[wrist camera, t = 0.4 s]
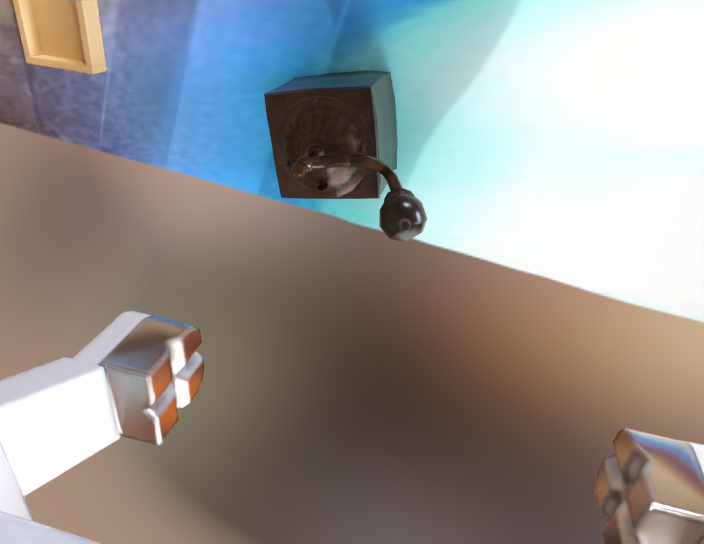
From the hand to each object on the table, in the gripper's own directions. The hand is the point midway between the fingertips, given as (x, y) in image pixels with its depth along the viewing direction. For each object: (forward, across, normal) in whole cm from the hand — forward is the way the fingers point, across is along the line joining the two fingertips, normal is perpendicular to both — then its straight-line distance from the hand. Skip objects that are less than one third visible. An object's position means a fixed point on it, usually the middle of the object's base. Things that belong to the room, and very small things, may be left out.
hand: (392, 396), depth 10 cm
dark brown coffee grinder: (+46, +10, +8) cm, 48 cm away
